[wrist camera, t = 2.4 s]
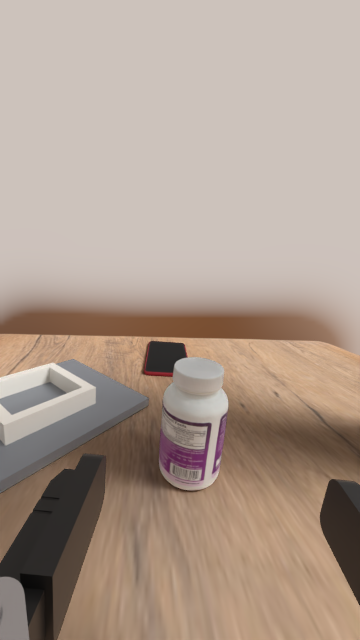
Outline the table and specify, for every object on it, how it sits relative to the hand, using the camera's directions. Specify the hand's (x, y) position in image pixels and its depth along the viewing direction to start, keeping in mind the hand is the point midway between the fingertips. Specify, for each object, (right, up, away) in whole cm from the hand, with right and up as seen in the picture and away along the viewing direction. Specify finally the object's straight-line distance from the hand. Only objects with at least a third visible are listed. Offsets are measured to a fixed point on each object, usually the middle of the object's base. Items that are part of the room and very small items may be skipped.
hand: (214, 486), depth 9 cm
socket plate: (-17, -4, +19) cm, 26 cm away
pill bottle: (-1, -7, +14) cm, 15 cm away
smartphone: (-4, -1, +37) cm, 38 cm away
